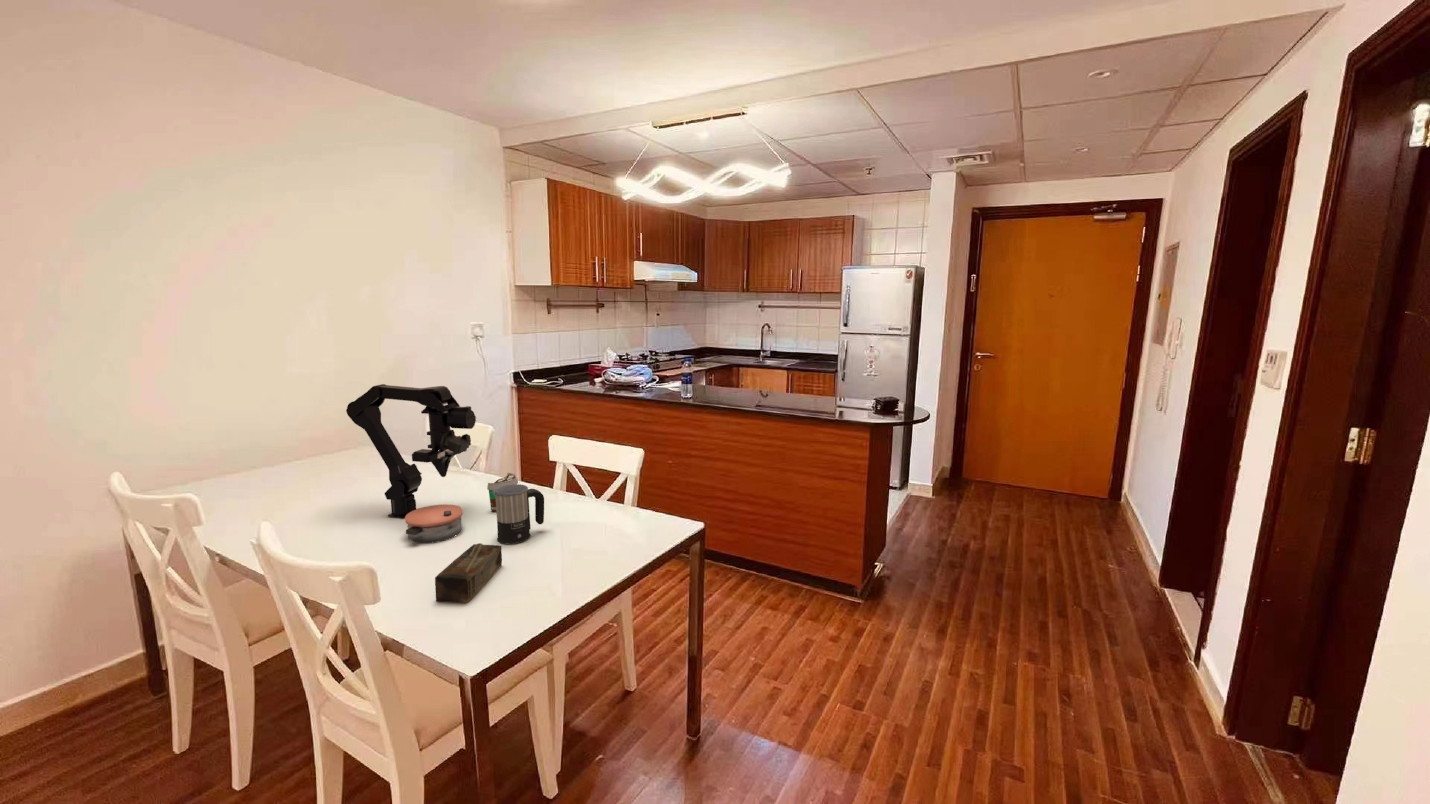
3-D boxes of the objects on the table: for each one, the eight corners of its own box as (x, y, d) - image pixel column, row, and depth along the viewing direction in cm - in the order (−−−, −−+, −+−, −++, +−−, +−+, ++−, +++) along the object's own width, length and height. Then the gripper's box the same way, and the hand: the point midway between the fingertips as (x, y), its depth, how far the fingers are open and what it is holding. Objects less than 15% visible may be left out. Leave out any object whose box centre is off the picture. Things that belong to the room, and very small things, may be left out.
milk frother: (510, 548, 157) (507, 496, 154) (475, 534, 165) (472, 486, 162) (550, 531, 168) (548, 483, 166) (515, 519, 177) (513, 473, 174)
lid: (392, 523, 159) (392, 517, 159) (430, 505, 174) (430, 499, 173) (438, 529, 156) (438, 522, 156) (473, 510, 170) (473, 504, 170)
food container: (506, 515, 180) (504, 485, 179) (488, 513, 181) (486, 483, 180) (526, 502, 192) (524, 473, 190) (509, 500, 193) (508, 472, 192)
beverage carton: (504, 566, 146) (502, 542, 145) (468, 605, 128) (466, 578, 126) (474, 564, 147) (472, 540, 146) (434, 603, 128) (432, 576, 127)
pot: (390, 543, 158) (388, 526, 157) (437, 518, 176) (436, 503, 175) (433, 549, 155) (432, 531, 154) (477, 523, 173) (476, 508, 172)
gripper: (441, 436, 163) (445, 488, 165) (482, 423, 181) (484, 470, 183) (408, 433, 165) (412, 485, 168) (451, 421, 183) (455, 467, 186)
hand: (443, 476), depth 176 cm, fingers closed
